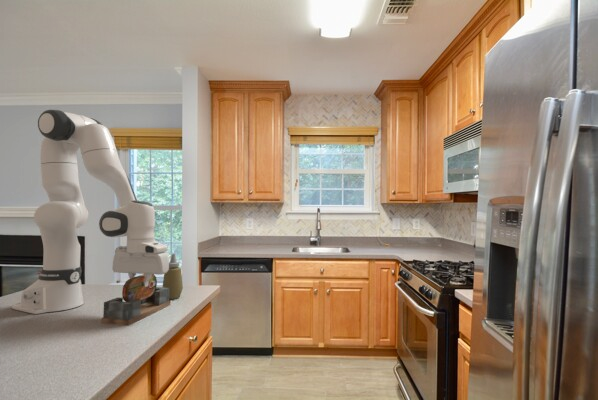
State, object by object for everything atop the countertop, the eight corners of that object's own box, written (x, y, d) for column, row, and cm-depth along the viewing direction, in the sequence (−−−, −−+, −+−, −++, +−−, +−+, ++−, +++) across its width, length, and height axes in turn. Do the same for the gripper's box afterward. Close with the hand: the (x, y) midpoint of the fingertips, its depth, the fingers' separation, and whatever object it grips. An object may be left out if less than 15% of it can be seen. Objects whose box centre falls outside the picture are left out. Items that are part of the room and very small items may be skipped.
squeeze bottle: (175, 294, 136) (176, 252, 136) (186, 297, 131) (187, 254, 131) (157, 298, 129) (158, 254, 130) (168, 301, 124) (170, 256, 125)
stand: (101, 322, 100) (102, 302, 101) (147, 303, 122) (147, 286, 122) (128, 325, 99) (129, 304, 99) (170, 305, 120) (170, 287, 120)
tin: (127, 306, 103) (129, 280, 103) (119, 305, 104) (121, 279, 104) (156, 294, 118) (158, 271, 118) (149, 293, 118) (151, 270, 118)
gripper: (108, 246, 110) (107, 286, 109) (160, 248, 106) (159, 289, 106) (121, 244, 116) (121, 282, 116) (171, 246, 112) (171, 285, 112)
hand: (140, 286), depth 111 cm, fingers closed on tin, 2 cm apart
